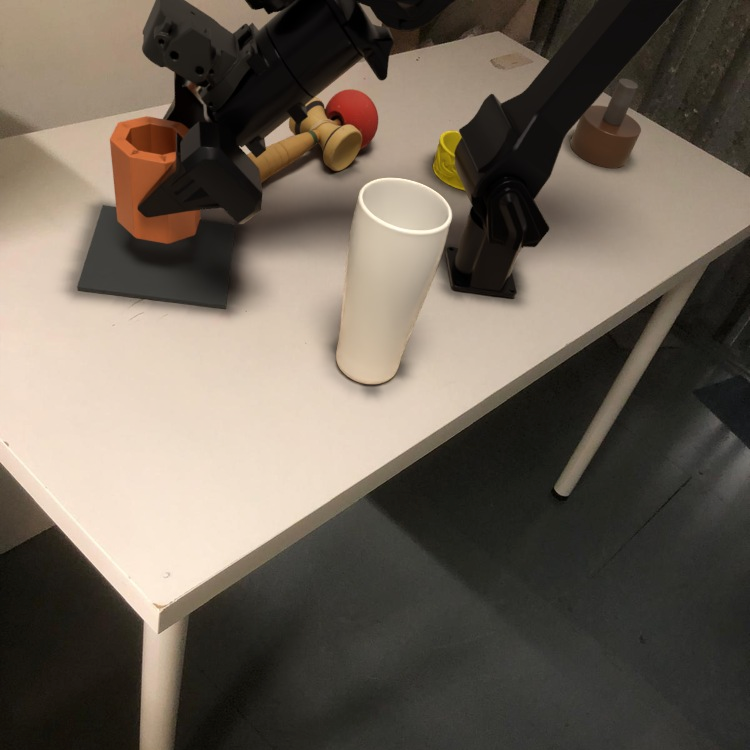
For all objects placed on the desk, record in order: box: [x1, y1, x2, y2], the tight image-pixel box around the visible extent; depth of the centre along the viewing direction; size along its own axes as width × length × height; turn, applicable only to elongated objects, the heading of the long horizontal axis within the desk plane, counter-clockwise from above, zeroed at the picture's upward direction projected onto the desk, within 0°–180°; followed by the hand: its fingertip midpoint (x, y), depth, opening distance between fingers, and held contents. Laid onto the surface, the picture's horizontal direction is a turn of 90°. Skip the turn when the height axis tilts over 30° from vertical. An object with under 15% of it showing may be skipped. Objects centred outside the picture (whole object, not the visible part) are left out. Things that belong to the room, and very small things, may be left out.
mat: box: [76, 204, 236, 310], centre depth 66 cm, size 12×12×1 cm
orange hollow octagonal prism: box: [109, 115, 201, 244], centre depth 60 cm, size 6×6×7 cm
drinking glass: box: [335, 177, 453, 385], centre depth 57 cm, size 7×7×15 cm
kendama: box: [245, 88, 379, 184], centre depth 79 cm, size 8×6×18 cm
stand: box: [569, 78, 642, 169], centre depth 92 cm, size 8×8×8 cm
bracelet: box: [432, 130, 465, 191], centre depth 84 cm, size 7×8×3 cm
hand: (142, 187), depth 61 cm, fingers closed on orange hollow octagonal prism, 7 cm apart
